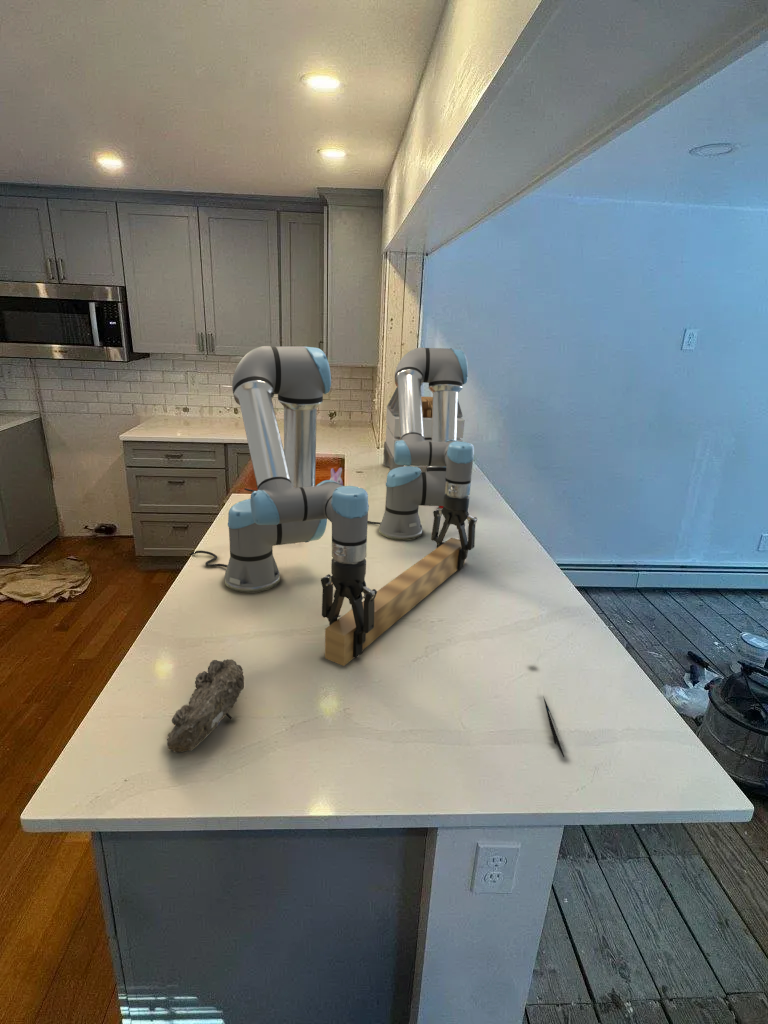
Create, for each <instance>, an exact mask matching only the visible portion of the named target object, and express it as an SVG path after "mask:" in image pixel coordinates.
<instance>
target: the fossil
mask: <svg viewBox="0 0 768 1024" xmlns="http://www.w3.org/2000/svg"><path fill="white" fill-rule="evenodd" d="M243 670H244V669H243V667H242V665H240V664H237V662H236V661H235V660H234V659H232V658H231V659H227V658H226V659H224V660H223V661H222V660H217V659H212V660H211V661H210V663H209V665H208V666H207V671H201V672H199V673H198V674H197V675H196V676H195V680H194V684H195V685H194V687H195V689H194V690H193V693H192V694H191V697H190V698H189V700H188V704H184V705H182V706H181V707H180V709H177V710H176V711H175V713H174V715H173V716H172V718H171V723H172V724H173V727H172V730H171V731H170V732H168V734H167V738H166V741H167V742H166V745H167V749H168V750H169V751H173V752H174V753H176V754H178V753H182V752H188V751H189V752H192V751H193V750H195V748H196V747H197V746H199V744H200V743H201V742H203V741H204V740H205V739H206V738H207V737H208V736H209V735H210V734H211V733H212V732H214V730H215V729H217V727H218V726H219V724H220V722H221V721H222V720H223V719H224V718H225V716H226V717H227V719H229V720H233V717H232V715H230V714H229V710H230V709H231V708H234V706H235V704H236V703H237V702H238V699H239V697H240V695H241V693H242V691H243V690H245V689H244V688H245V675H244V671H243Z"/></svg>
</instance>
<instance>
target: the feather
mask: <svg viewBox="0 0 768 1024" xmlns="http://www.w3.org/2000/svg"><path fill="white" fill-rule="evenodd" d="M533 668H535V666H533ZM542 698H543V701H544V702H543V703H544V706H545V711H546V714H547V718H548V719H547V720H548V723H549V728H550V731H551V733H552V738H553V742H554V744H555V745H556V744H557V747H558V748H559V750H560V753H561V755H562V757H563V758H565V755H564V752H563V748H564V746H565V745H562V746H563V748H562V746H561V743H563V739H561V740H559V738H561V734H560V732H559V728H558V727H557V725H556V722H555V720H554V717H553V715H552V713H551V710H550V708H549V706H548V703H547V701H546V698H545V697H544V695H543V697H542ZM558 737H559V738H558ZM560 742H561V743H560Z"/></svg>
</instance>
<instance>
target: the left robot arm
mask: <svg viewBox="0 0 768 1024" xmlns="http://www.w3.org/2000/svg"><path fill="white" fill-rule="evenodd" d="M231 382H232V385H231V389H232V394H233V399H234V401H235V403H236V404H237V405H239V406H240V411H241V412H240V413H241V416H242V417H241V418H242V421H243V426H244V431H245V436H246V440H247V445H248V450H249V455H250V459H251V464H252V470H253V475H254V479H255V484H256V488H257V490H255V491H254V492H251V494H250V498H247V499H243V500H241V501H238V502H236V503H234V504H233V505H232V506H231V507H230V508H229V510H228V513H227V515H228V516H227V517H228V518H227V521H228V522H227V527H228V536H229V538H228V540H229V541H228V542H229V559H228V563H227V564H224V563H212V562H214V561H216V560H217V559H218V556H217V555H216V554H215V553H213V552H210V551H207V550H193V551H191V553H189V556H193V555H196V554H206V555H210V556H212V557H213V558H211V559H209V560H207V561H205V562H204V563H205V567H207V568H213V567H223V568H226V569H225V572H224V584H225V586H226V587H227V588H228V589H230V590H232V591H234V592H238V593H245V594H246V593H247V594H248V593H260V592H266V591H268V590H270V589H272V588H274V587H276V586H277V585H278V584H279V583H280V580H281V577H280V575H281V574H280V570H279V567H278V565H277V562H276V559H275V557H274V553H273V547H275V546H282V545H283V546H284V545H291V544H300V543H305V544H306V543H309V542H313V541H318V540H319V539H321V538H322V537H323V536H324V534H325V532H326V529H327V523H328V521H329V522H330V523H331V557H332V558H331V563H330V565H331V568H330V569H331V574H326V575H325V576H323V577H321V578H320V584H321V587H322V592H321V593H322V595H321V597H322V598H321V602H322V603H321V616H322V618H326V619H327V620H328V623H329V624H328V626H330V625H331V624H332V623H334V622H335V621H337V620H338V619H339V618H341V615H340V613H341V610H342V607H343V603H344V601H345V598H346V599H347V600H348V602H349V605H350V606H351V610H353V615H354V620H355V624H356V629H357V630H356V631H354V640H353V657H354V658H355V659H356V658H358V657H359V656H360V655H361V654H362V653H363V650H362V649H363V643H365V641H366V633H368V632H369V631H371V630H372V629H373V628H374V599H375V596H376V594H377V591H378V590H377V589H375V588H373V589H370V588H369V587H368V586H367V583H366V580H365V577H366V574H367V559H366V558H367V556H368V555H367V554H368V553H367V552H368V551H367V550H368V524H369V523H368V521H369V520H368V519H369V510H370V505H369V493H368V492H367V490H366V489H364V488H362V487H359V486H356V485H344V484H343V485H341V484H339V483H337V482H336V481H333V480H330V479H324V480H322V481H320V482H319V483H317V484H316V466H317V465H316V463H317V419H318V417H317V415H318V413H317V412H318V407H319V406H320V405H321V404H322V403H323V400H324V395H327V394H329V393H330V391H331V388H332V373H331V368H330V363H329V360H328V357H327V355H326V353H325V352H324V351H323V350H322V349H320V348H319V347H315V346H314V347H313V346H304V345H303V346H299V345H298V346H297V345H296V346H295V345H293V346H288V345H287V346H270V345H263V346H259V347H255V348H253V349H251V350H250V351H248V352H247V353H246V354H245V355H244V356H243V357H242V358H241V360H240V361H239V362H238V364H237V366H236V368H235V370H234V372H233V377H232V381H231ZM275 395H277V401H278V402H279V403H280V404H281V405H282V406H283V441H282V437H281V432H280V429H279V424H278V420H277V417H276V411H275V407H274V404H273V403H274V402H273V399H274V397H275ZM195 551H196V552H195ZM194 552H195V553H194ZM334 589H335V590H334ZM363 601H364V609H363V604H362V602H363ZM354 658H353V659H354Z"/></svg>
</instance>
